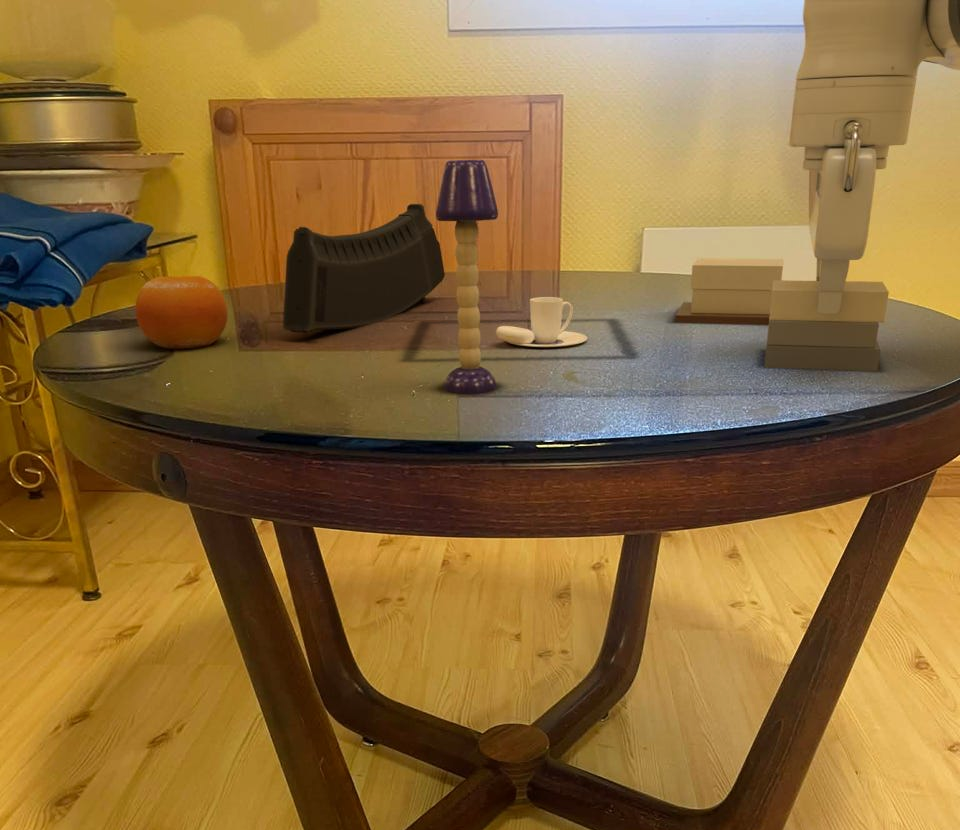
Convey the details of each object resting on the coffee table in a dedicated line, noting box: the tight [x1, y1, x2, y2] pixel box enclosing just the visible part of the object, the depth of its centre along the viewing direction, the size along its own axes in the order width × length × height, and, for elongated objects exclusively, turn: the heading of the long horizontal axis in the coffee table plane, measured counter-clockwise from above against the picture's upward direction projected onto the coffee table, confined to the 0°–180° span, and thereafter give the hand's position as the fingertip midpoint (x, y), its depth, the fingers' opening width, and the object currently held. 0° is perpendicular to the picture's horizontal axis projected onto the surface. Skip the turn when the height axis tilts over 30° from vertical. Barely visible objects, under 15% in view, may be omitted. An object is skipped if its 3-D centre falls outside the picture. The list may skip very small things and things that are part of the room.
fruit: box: [134, 275, 228, 350], centre depth 99 cm, size 8×8×8 cm
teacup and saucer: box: [495, 296, 588, 348], centre depth 97 cm, size 9×8×4 cm
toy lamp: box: [435, 159, 499, 395], centre depth 77 cm, size 5×5×17 cm
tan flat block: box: [769, 279, 890, 324], centre depth 85 cm, size 9×6×2 cm, turn 75°
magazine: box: [282, 203, 446, 334], centre depth 109 cm, size 17×3×30 cm
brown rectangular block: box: [764, 317, 881, 372], centre depth 86 cm, size 9×7×4 cm
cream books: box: [674, 257, 784, 326], centre depth 107 cm, size 12×9×6 cm
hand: (825, 306), depth 85 cm, fingers closed on tan flat block, 6 cm apart
